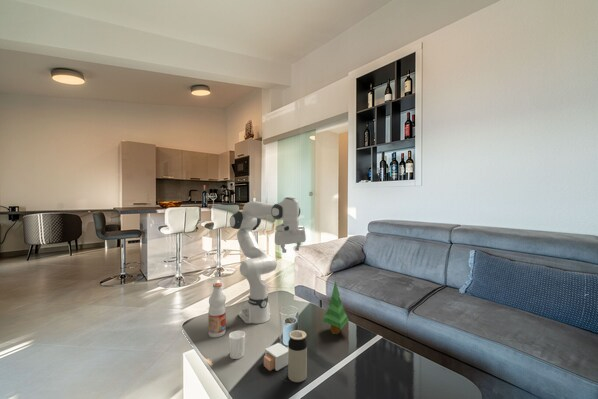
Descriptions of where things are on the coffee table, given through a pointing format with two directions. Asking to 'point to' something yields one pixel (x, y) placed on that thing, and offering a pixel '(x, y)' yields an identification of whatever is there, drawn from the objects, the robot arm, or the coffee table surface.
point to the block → (269, 362)
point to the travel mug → (297, 356)
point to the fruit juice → (217, 312)
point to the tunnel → (278, 355)
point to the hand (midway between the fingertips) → (290, 251)
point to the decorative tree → (335, 312)
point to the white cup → (237, 344)
